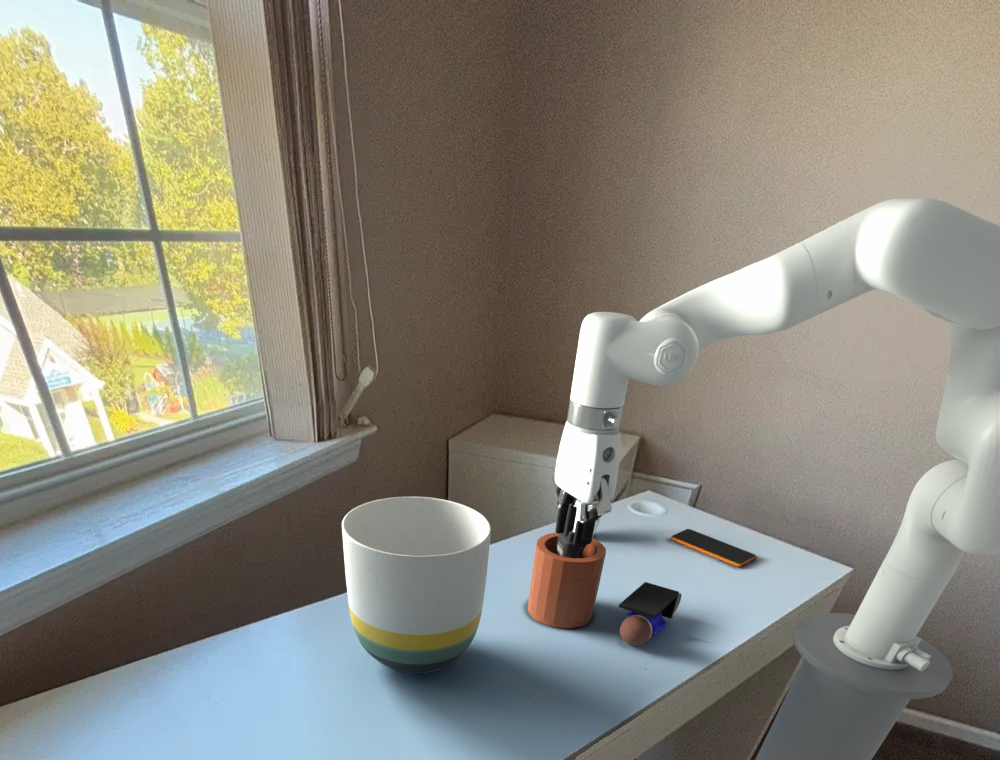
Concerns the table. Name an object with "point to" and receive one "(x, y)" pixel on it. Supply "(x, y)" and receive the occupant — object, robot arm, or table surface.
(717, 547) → the smartphone
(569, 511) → the two-way radio
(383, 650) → the planter
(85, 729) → the table surface
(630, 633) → the figurine character
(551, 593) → the jar
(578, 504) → the cup
